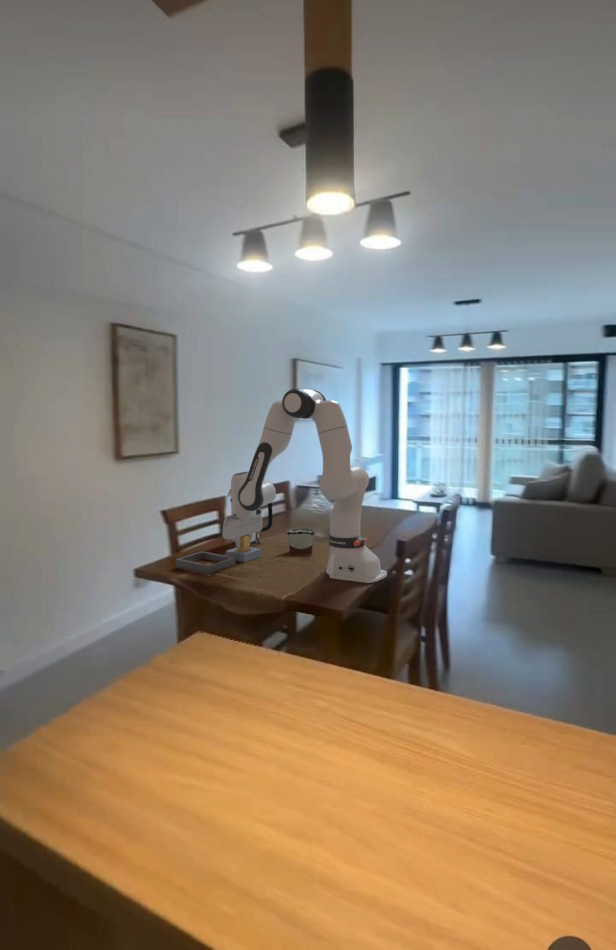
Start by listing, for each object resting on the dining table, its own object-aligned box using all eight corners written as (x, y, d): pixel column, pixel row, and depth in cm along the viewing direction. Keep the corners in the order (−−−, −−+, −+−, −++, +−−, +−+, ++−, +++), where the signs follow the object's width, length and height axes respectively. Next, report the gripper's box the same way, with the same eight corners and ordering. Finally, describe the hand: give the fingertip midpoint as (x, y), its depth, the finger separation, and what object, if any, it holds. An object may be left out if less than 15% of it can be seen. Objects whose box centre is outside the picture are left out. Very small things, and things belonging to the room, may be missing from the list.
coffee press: (250, 549, 237) (248, 480, 234) (222, 544, 246) (220, 478, 242) (273, 540, 252) (272, 476, 248) (246, 536, 260) (244, 474, 256)
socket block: (261, 558, 222) (261, 549, 222) (244, 564, 214) (244, 554, 214) (242, 555, 228) (242, 545, 228) (225, 560, 220) (225, 551, 219)
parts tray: (235, 566, 212) (235, 557, 211) (209, 576, 200) (209, 566, 200) (202, 559, 222) (202, 551, 221) (176, 568, 211) (175, 559, 210)
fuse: (249, 557, 221) (249, 535, 220) (244, 558, 219) (244, 536, 218) (242, 555, 223) (241, 534, 222) (237, 557, 221) (236, 535, 220)
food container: (316, 550, 234) (316, 527, 233) (315, 554, 228) (315, 531, 227) (288, 550, 235) (287, 527, 234) (286, 554, 229) (285, 530, 228)
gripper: (230, 517, 209) (231, 553, 210) (264, 509, 225) (265, 542, 227) (218, 515, 212) (219, 550, 214) (253, 507, 229) (253, 540, 230)
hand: (243, 546), depth 220 cm, fingers open, 4 cm apart
